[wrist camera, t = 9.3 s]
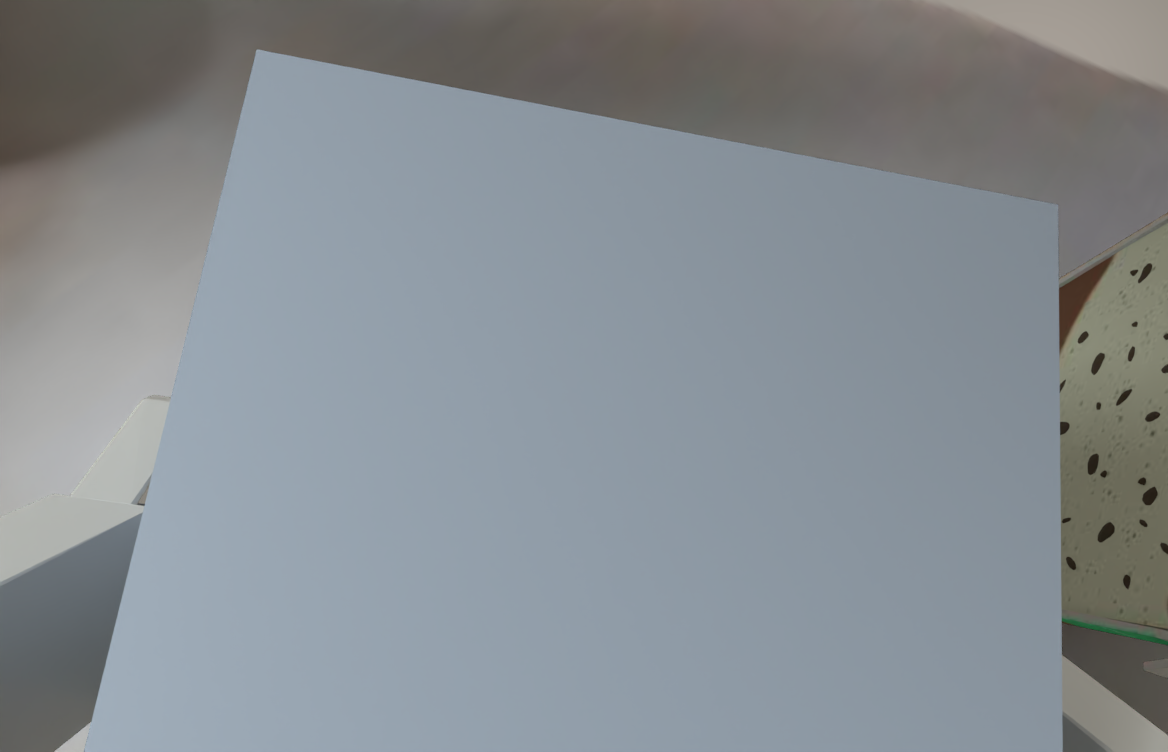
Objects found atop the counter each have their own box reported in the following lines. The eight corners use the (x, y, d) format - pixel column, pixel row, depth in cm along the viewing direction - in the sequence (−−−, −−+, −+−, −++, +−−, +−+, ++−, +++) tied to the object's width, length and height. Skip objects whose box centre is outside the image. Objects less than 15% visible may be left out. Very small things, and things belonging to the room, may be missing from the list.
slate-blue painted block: (318, 722, 14) (10, 1048, 4) (378, 401, 15) (255, 49, 5) (641, 758, 14) (1066, 1118, 4) (673, 446, 15) (1057, 205, 6)
